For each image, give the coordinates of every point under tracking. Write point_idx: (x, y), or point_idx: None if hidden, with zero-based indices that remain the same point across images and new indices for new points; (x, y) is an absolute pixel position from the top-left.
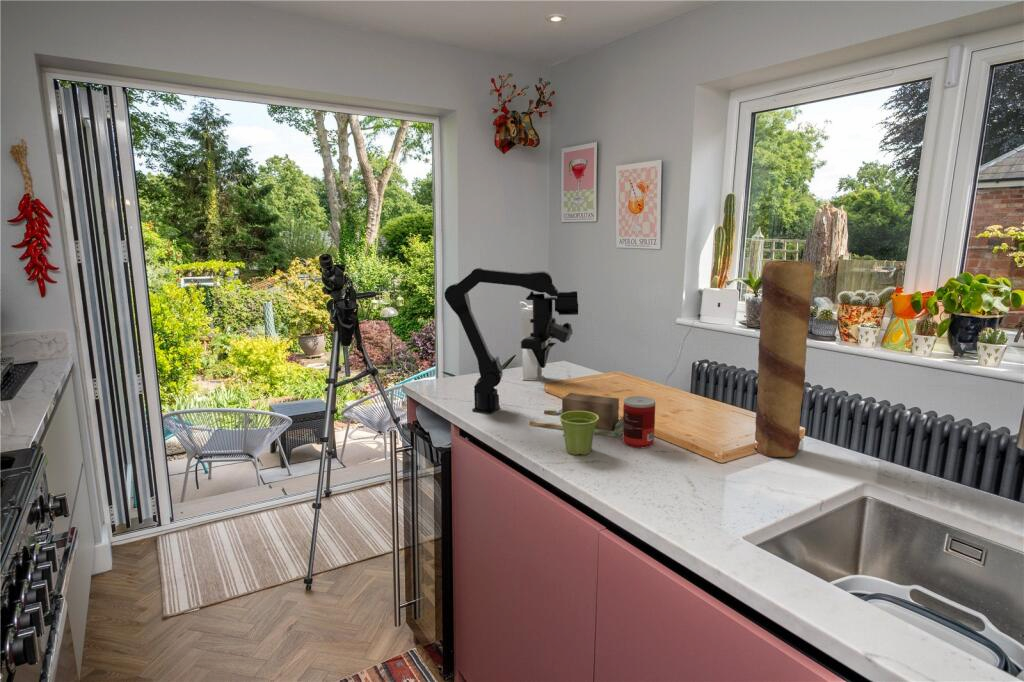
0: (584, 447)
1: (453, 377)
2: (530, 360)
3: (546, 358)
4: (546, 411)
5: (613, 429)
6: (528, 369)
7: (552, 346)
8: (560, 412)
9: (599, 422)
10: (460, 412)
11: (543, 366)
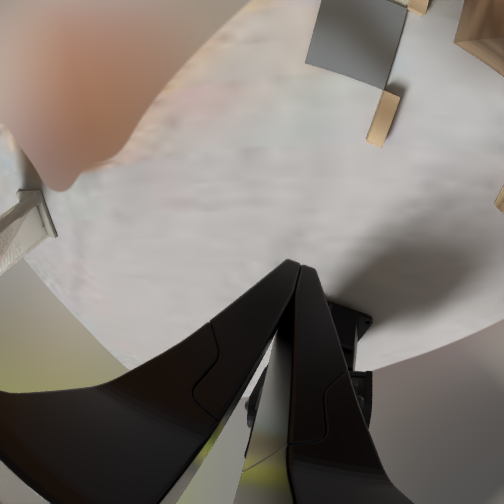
0: None
1: (110, 350)
2: (8, 248)
3: (272, 325)
4: (385, 136)
5: None
6: (26, 237)
7: (79, 435)
8: (376, 71)
9: None
10: None
11: (316, 283)
